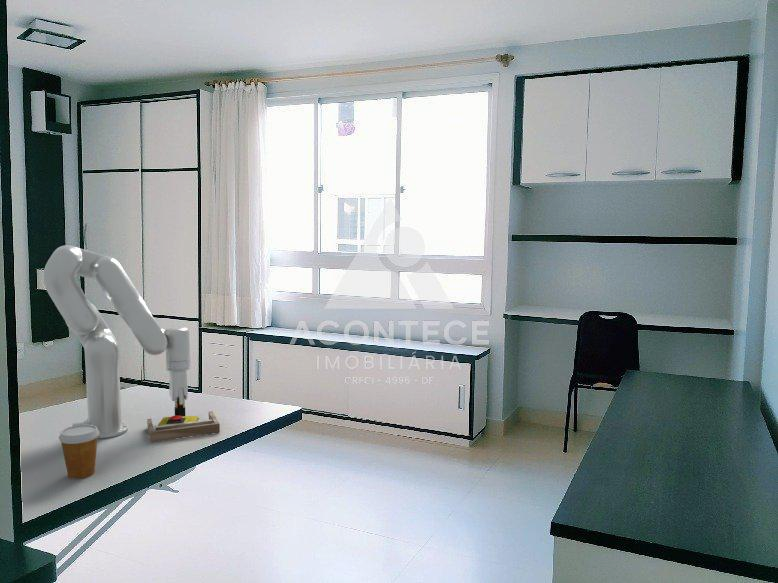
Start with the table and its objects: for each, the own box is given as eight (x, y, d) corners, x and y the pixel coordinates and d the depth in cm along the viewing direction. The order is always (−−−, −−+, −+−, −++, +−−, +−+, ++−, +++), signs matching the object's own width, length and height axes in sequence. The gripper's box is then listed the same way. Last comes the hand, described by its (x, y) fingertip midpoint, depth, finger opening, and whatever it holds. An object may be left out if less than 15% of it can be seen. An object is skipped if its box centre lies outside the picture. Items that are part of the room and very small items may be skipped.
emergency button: (158, 413, 202) (205, 411, 204) (158, 426, 202) (205, 424, 205) (151, 422, 193) (201, 420, 195) (152, 435, 193) (201, 434, 195)
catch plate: (155, 435, 191) (155, 426, 190) (211, 428, 198) (211, 419, 197) (155, 437, 189) (155, 427, 189) (212, 429, 197) (212, 420, 196)
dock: (147, 428, 199) (147, 419, 198) (212, 419, 207) (212, 411, 207) (150, 442, 186) (150, 432, 186) (219, 432, 194) (219, 423, 194)
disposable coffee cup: (73, 466, 167) (71, 423, 166) (107, 467, 167) (105, 424, 165) (53, 481, 158) (50, 435, 156) (89, 481, 157) (87, 436, 156)
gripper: (163, 361, 208) (165, 413, 210) (168, 370, 194) (170, 427, 196) (187, 359, 211) (188, 411, 213) (193, 368, 198) (195, 423, 200)
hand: (180, 418), depth 205 cm, fingers closed
